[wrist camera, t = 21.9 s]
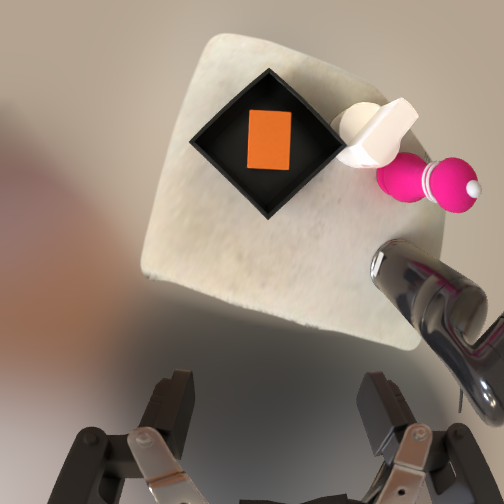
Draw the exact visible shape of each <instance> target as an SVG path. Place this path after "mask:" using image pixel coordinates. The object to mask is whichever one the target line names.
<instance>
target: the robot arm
mask: <svg viewBox="0 0 504 504" xmlns="http://www.w3.org/2000/svg"><path fill="white" fill-rule="evenodd" d="M371 278H372V281H373V283H374V284H375V286H376V287H377V288H378V289H379V290H381V291H382V292H383V293H384V295H385V296H386V297H387V298H388V299H389V300H390V301H391V302H392V304H393V305H394V306H395V307H396V308H397V309H398V310H399V311H400V312H401V314H402V315H403V316H404V317H405V318H406V319H407V320H408V322H409V323H410V324H411V325H412V326H413V327H414V328H415V330H416V331H417V332H418V333H419V334H420V336H421V337H422V338H423V339H424V340H425V342H427V344H428V345H429V346H430V347H431V349H432V350H433V351H434V352H435V353H436V355H437V356H438V357H439V358H440V360H441V361H442V362H443V363H444V365H445V366H446V367H447V368H448V370H449V371H450V372H451V374H452V376H453V377H454V379H455V380H456V382H457V383H458V385H459V386H460V402H459V413H461V408H462V398H463V393H464V394H465V396H466V398H467V399H468V401H469V403H470V404H471V406H472V407H473V409H474V410H475V412H476V414H477V415H478V416H479V417H480V418H481V420H482V421H483V422H484V423H485V424H486V425H488V426H490V427H492V428H500V427H502V426H504V311H503V313H502V314H501V315H500V316H499V317H498V318H497V320H496V321H495V322H494V323H493V324H492V325H491V326H490V327H489V329H488V330H487V331H486V332H485V333H484V334H483V335H482V336H481V337H480V338H479V339H478V340H477V338H478V337H479V335H480V333H481V331H482V328H483V326H484V324H485V320H486V317H487V312H488V300H487V296H486V294H485V292H484V291H483V289H482V288H481V287H480V286H479V285H477V284H476V283H474V282H473V281H471V280H470V279H468V278H467V277H465V276H464V275H462V274H461V273H459V272H457V271H455V270H454V269H452V268H450V267H449V266H447V265H446V264H444V263H442V262H441V261H439V260H438V259H436V258H434V257H433V256H431V255H429V254H427V253H426V252H424V251H422V250H421V249H419V248H417V247H415V246H414V245H412V244H411V243H410V242H408V241H406V240H403V239H394V240H391V241H388V242H387V243H385V244H384V245H382V246H381V247H380V248H379V249H378V251H377V252H376V254H375V255H374V257H373V260H372V263H371ZM194 403H195V390H194V381H193V373H192V371H189V370H181V369H175V371H174V373H173V376H172V378H171V379H167V378H163V379H162V380H161V381H160V382H159V383H158V384H157V385H156V386H155V389H154V391H153V395H152V396H151V398H150V401H149V403H148V405H147V408H146V410H145V413H144V415H143V417H142V420H141V422H140V424H139V426H138V428H136V429H134V430H133V431H131V432H130V433H129V434H126V435H106V433H105V432H104V431H103V430H101V429H100V428H97V427H87V428H84V429H82V430H81V431H80V432H79V433H78V434H77V436H76V439H75V441H74V443H73V445H72V447H71V449H70V451H69V453H68V456H67V458H66V460H65V462H64V465H63V467H62V469H61V471H60V474H59V476H58V478H57V481H56V483H55V485H54V488H53V490H52V493H51V495H50V498H49V501H48V503H47V504H119V500H120V497H121V493H122V489H123V485H124V482H125V478H145V480H146V482H147V485H148V487H149V489H150V491H151V493H152V494H153V496H154V498H155V500H156V501H157V503H158V504H208V502H207V501H206V500H205V498H204V497H203V496H202V495H201V493H200V492H199V490H198V489H197V487H196V486H195V485H194V483H193V482H192V481H191V479H190V478H189V476H188V475H187V474H186V472H184V471H183V470H182V469H181V468H180V466H179V464H178V463H177V461H176V460H175V459H178V460H181V456H182V453H183V449H184V445H185V440H186V436H187V432H188V428H189V424H190V420H191V416H192V412H193V408H194ZM357 407H358V409H359V412H360V415H361V418H362V421H363V424H364V427H365V430H366V432H367V436H368V438H369V441H370V444H371V447H372V450H373V453H374V456H380V455H383V457H384V459H385V460H384V462H383V464H382V466H381V468H380V470H379V472H378V474H377V476H376V478H375V480H374V482H373V483H372V485H371V487H370V489H369V491H368V492H367V494H366V495H365V496H364V498H363V499H362V500H361V501H358V500H352V499H348V498H347V494H342V495H334V496H327V497H321V498H318V499H314V500H311V501H308V502H305V503H302V504H416V502H417V499H418V497H419V494H420V491H421V489H422V486H423V483H424V480H425V481H426V484H427V487H428V490H429V494H430V497H431V500H432V504H504V501H503V499H502V497H501V494H500V491H499V489H498V486H497V484H496V482H495V479H494V477H493V475H492V473H491V471H490V468H489V466H488V464H487V462H486V460H485V458H484V456H483V454H482V452H481V450H480V448H479V446H478V444H477V442H476V440H475V438H474V437H473V434H472V433H471V431H470V429H469V428H468V427H467V426H466V425H464V424H462V423H454V424H452V425H451V426H450V427H449V428H448V430H447V431H432V430H431V429H430V428H429V427H428V426H427V425H425V424H422V423H417V421H416V420H415V418H414V416H413V414H412V412H411V410H410V408H409V406H408V404H407V402H406V401H405V399H404V397H403V395H402V393H401V391H400V389H399V387H398V386H397V385H396V384H395V383H393V382H392V381H391V380H388V381H387V380H386V378H385V376H384V374H383V372H381V371H377V372H368V373H366V374H365V376H364V378H363V381H362V384H361V386H360V389H359V392H358V395H357ZM450 462H451V463H452V466H453V468H454V470H455V473H456V477H455V474H454V472H453V470H452V467H451V464H450ZM239 504H284V503H278V502H273V501H268V500H240V502H239Z"/></svg>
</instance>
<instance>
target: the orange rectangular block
mask: <svg viewBox="0 0 504 504" xmlns="http://www.w3.org/2000/svg"><path fill="white" fill-rule="evenodd" d="M290 136H291V112H281V111H264V110H250V116H249V139H248V164H247V168H250V169H270V170H289V159H290Z"/></svg>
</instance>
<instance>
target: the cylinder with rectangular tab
mask: <svg viewBox="0 0 504 504" xmlns="http://www.w3.org/2000/svg"><path fill="white" fill-rule="evenodd" d="M418 117H419V116H418V114H417V112H416V111H415V109H414V108H413V107H412V105H411V104H410V103H409V102H408V101H406V100H405V99H404V98H402V97H401V98H399V99H397V100H395V101H392V102H390V103H388V104H386V105H383V106H379V105H377V104H374V103H370V102H360V103H357V104H355V105H352V106H351V107H349V108H348V109H346V110H345V111H343V112H342V113H340V114H339V115H337V116H336V117H335V118H334V119H333V121H332V122H331V124H330V126H331V128H332V129H333V130H334V131H335V132H336V133H337V134H338V135H339V136H340V137H341V139H342V140H343V141H344V142H345V143H346V144H347V147H346V148H345V149H343V150H342V151H341V152H340V153H339V154H338V155H337V156H336V157H337V159H338V160H340V161H341V162H342V163H344V164H345V165H348V166H350V167H354V168H381V167H384V166H386V165H388V164H389V163H390V162H392V161H393V160H394V159H395V157H396V155H397V154H398V152H399V148H400V142H401V138H402V137H403V136H404V135H405V133H406V132H407V131H408V130H409V128H410V127H411V126H412V125H413V123H414V122H415V121H416V120H417V119H418Z"/></svg>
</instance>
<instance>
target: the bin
mask: <svg viewBox="0 0 504 504" xmlns="http://www.w3.org/2000/svg"><path fill="white" fill-rule="evenodd" d="M250 110H264V111H281V112H291V136H290V159H289V170H270V169H250V168H247V164H248V139H249V116H250ZM189 143H190V144H191V145H192V146H193V147H194V148H195V149H196V150H197V151H198V152H199V153H201V154H202V155H203V156H204V157H205V158H206V159H207V160H208V161H209V162H210V163H211V164H212V165H213V166H214V167H215V168H216V169H217V170H218V171H219V172H220V173H221V174H222V175H223V176H224V177H225V178H226V179H227V180H228V181H229V182H230V183H231V184H232V185H233V186H234V187H235V188H237V189H238V190H239V191H240V192H241V193H242V194H243V195H244V196H245V197H246V198H247V199H248V200H249V201H250V202H251V203H252V204H253V205H254V206H255V207H256V208H257V209H258V210H259V211H260V213H261V214H262V215H263V216H264V217H265V218H266V219H267V220H269V219H270V218H271V217H272V216H273V215H274V214H275V213H276V212H277V211H278V210H279V209H280V208H281V207H282V206H283V205H285V204H286V203H287V202H288V201H289V200H290V199H291V198H292V197H293V196H294V195H295V194H296V193H297V192H298V191H299V190H300V189H302V188H303V187H304V186H305V185H306V184H307V183H308V182H309V181H310V180H311V179H312V178H313V177H314V176H315V175H317V174H318V173H319V172H320V171H321V170H322V169H323V168H324V167H325V166H326V165H327V164H328V163H329V162H330V161H332V160H333V159H334V158H335V157H336V156H337V155H338V154H339V153H340V152H341V151H342V150H343V149H345V148H346V147H347V144H346V143H345V142H344V141H343V140H342V139H341V137H340V136H339V135H338V134H337V133H336V132H335V131H334V130H333V129H332V128H331V126H330V125H329V124H328V123H327V122H326V121H325V120H324V119H323V118H322V117H321V116H320V115H319V114H318V113H317V112H316V111H315V110H314V109H313V108H312V107H311V106H310V105H309V104H308V103H307V102H306V101H305V100H304V99H303V98H302V97H301V96H300V95H299V94H298V93H297V92H296V91H295V90H294V89H293V88H292V87H290V86H289V85H288V84H287V83H286V82H285V81H284V80H283V79H282V78H280V77H279V76H278V75H277V74H276V73H275V72H274V71H272V70H271V69H270V68H268V69H267V70H266V71H264V72H263V73H262V74H261V75H260V76H258V77H257V78H256V79H255V80H254V81H252V82H251V83H250V84H249V85H248V86H247V87H245V88H244V89H243V90H242V91H241V92H240V93H239V94H238V95H236V96H235V97H234V98H233V99H232V100H231V101H230V102H229V103H228V104H227V105H226V106H224V107H223V108H222V109H221V110H220V111H219V112H218V113H217V114H216V115H215V116H214V117H213V118H212V119H211V120H210V121H209V122H208V123H207V124H206V125H205V126H204V127H203V128H202V129H201V130H200V131H199V132H198V133H197V134H196V135H195V136H194V137H193V138H192V139H191V140H190V141H189Z"/></svg>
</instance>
